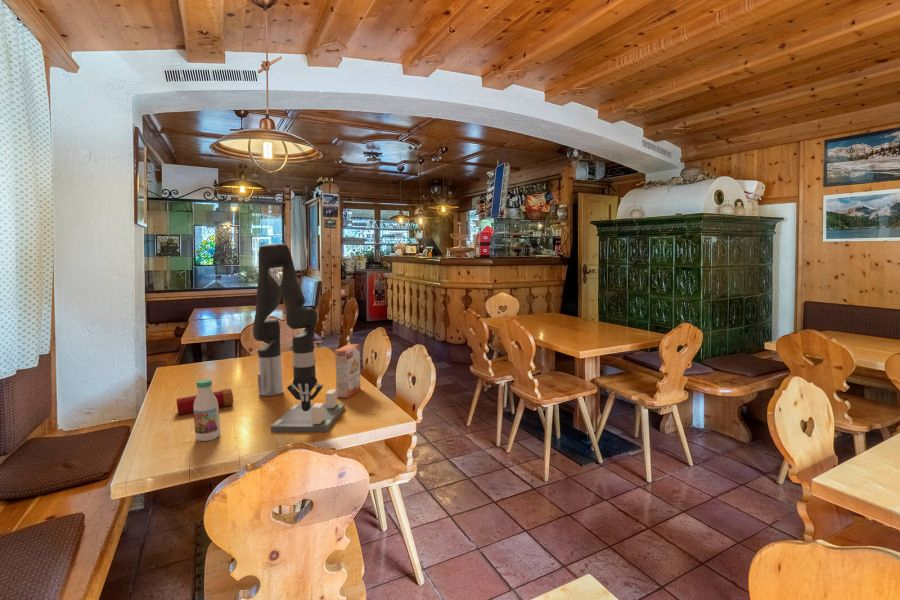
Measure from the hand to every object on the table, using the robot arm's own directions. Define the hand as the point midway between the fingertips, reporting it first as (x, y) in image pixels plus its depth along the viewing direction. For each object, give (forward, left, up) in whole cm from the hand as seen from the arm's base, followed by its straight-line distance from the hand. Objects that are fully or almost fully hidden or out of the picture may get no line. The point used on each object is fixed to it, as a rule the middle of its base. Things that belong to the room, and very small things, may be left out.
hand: (306, 410), depth 171 cm
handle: (+4, +16, -4) cm, 17 cm away
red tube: (-48, +18, -7) cm, 52 cm away
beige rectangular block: (+4, 0, -4) cm, 6 cm away
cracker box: (+5, +39, -7) cm, 40 cm away
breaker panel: (-2, +8, -6) cm, 10 cm away
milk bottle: (-32, -9, -7) cm, 34 cm away
